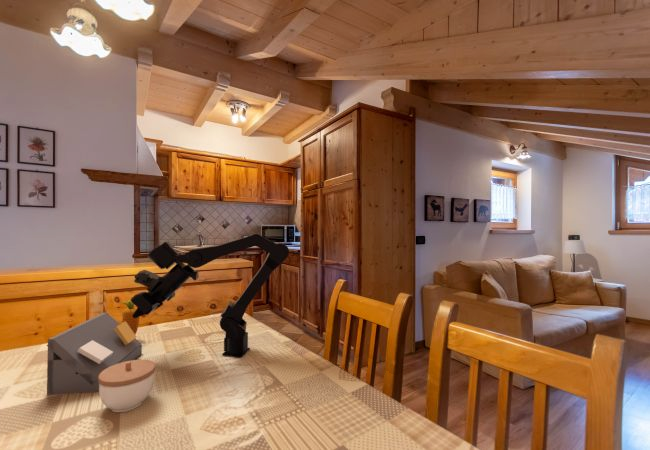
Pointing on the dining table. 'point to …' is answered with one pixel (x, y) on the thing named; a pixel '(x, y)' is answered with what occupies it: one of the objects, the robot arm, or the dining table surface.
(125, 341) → the block
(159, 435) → the dining table surface
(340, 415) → the dining table surface
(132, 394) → the lidded jar
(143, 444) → the dining table surface
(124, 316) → the carrot
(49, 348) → the switch console
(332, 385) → the dining table surface
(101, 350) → the block
